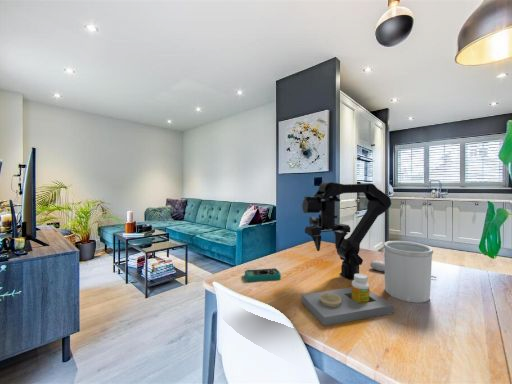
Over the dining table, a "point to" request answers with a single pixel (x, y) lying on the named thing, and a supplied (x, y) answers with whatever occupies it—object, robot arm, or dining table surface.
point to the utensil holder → (408, 270)
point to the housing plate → (344, 306)
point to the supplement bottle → (360, 289)
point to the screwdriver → (381, 266)
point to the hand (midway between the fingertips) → (327, 249)
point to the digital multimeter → (262, 274)
